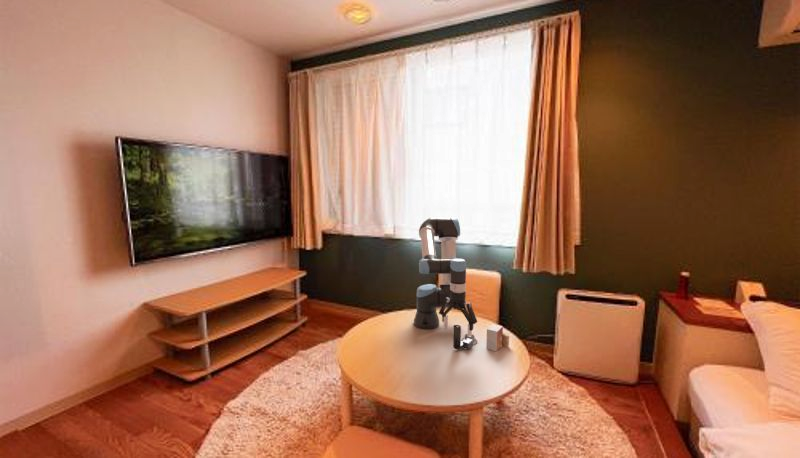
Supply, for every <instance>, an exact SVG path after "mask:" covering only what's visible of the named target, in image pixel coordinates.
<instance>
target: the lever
mask: <svg viewBox="0 0 800 458" xmlns="http://www.w3.org/2000/svg"><path fill="white" fill-rule="evenodd" d="M452 330H453V331H452V332H453V338H452V339H453V340H452V344H453V345H452V346H453V347H452V348H453V349H454V350H457V351H460V350H461V349H464V350H467V351H469V350H470V349H471V348H472V347H474V345H473V342H474V338H475V335H474V334H472V335H471V336H470V337H467V333H466V334H464V337H465V339H464V340H463V341H462V339H461V337H462V326H461V325H459V324H453V329H452Z"/></svg>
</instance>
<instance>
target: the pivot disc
mask: <svg viewBox="0 0 800 458" xmlns="http://www.w3.org/2000/svg"><path fill="white" fill-rule="evenodd" d="M464 339H465V336H464V337H462V339H461V341H463V340H464ZM476 344H478V340H477V338H475V337H474V342H473V346H474V345H476Z"/></svg>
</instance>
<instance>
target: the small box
mask: <svg viewBox="0 0 800 458" xmlns="http://www.w3.org/2000/svg"><path fill="white" fill-rule="evenodd" d="M503 331H504V326H502V325H498V324H495V323H492V324H491V325H490V326H489V327H488V328H486V344H485V345H486V349H488V350H490V351H493V352H494V351H495V352H498V350H500V348H501V347H502V346H503V345H502V335H503V333H504V332H503Z"/></svg>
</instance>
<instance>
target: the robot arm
mask: <svg viewBox="0 0 800 458" xmlns="http://www.w3.org/2000/svg"><path fill="white" fill-rule="evenodd" d="M418 235H419V238H420V241H421V243H420V244H421V254H422V255H421V256H422V257H421V258H420V259H419V260H418V261H419V262H418V266H419V267H418V269H419V273H420V274H426V275H436V274H438V275H440V274H441V283H439V286H438V287H437V285H436V284H434V283H433V284H432V283H427V284H422V285H420V286H418V287H417V289H416V313H415V316H414V318H413V325H414V326H415V327H416V328H418V329H422V330H432V329H437V328H438V327H439V326H440V318H439V315H441V316H442V317H441V318H442V319H441V321H442V323H443V327H442V328H443V330H447V329H448V326H449V321H448V320H449V316H448V315H447V314H448V313H450V312H451V311H452V309H454V310H457V311H460V312H461V313H462V314H463V316H464V317H465V320H466V321H467V333H466V334H467V337H470V336H471V335H473V334H472V332H473V330H474V325H476V324H477V323H478V320H477V317H476V314H475V312H474V309H473V306H472V305H473V304H472V302H471V301H470V302H466V293H467V292H466V289H467V288H466V287H467V283H466V281H467V280H466V279H467V277H466V276H467V261H466V259H464V258H457V253H456V248H457V247H456V241H457V240H458V239H459V237H460V236H461V225H460V222H459V219H458V218H456V217H452V216H449V217H446V216H444V217H435V216H434V217H429V218H428V219H426V220H424V221H423V222H422V223H421V224H420V227H419V230H418ZM435 237H438V241H440V242H441V243H440V245H441V247H440V248H441V258H437V251H436V243H435ZM437 308H438V309H439V308H440V310H439V311H438V313H437ZM446 308H447V309H446ZM438 314H439V315H438Z"/></svg>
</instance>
